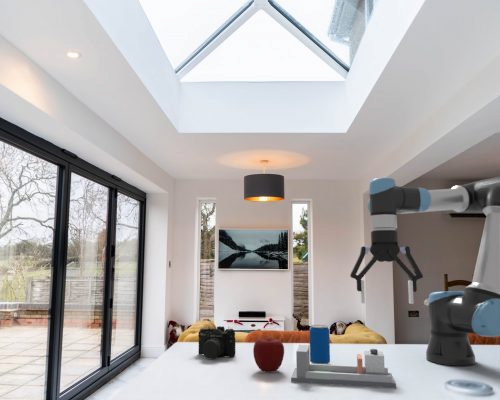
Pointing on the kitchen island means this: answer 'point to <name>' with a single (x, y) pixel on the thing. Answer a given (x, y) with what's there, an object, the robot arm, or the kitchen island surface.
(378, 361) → the white cube with knob
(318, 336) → the beverage can
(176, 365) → the kitchen island surface
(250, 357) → the kitchen island surface
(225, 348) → the camera
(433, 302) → the robot arm
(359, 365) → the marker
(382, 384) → the base
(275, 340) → the apple
